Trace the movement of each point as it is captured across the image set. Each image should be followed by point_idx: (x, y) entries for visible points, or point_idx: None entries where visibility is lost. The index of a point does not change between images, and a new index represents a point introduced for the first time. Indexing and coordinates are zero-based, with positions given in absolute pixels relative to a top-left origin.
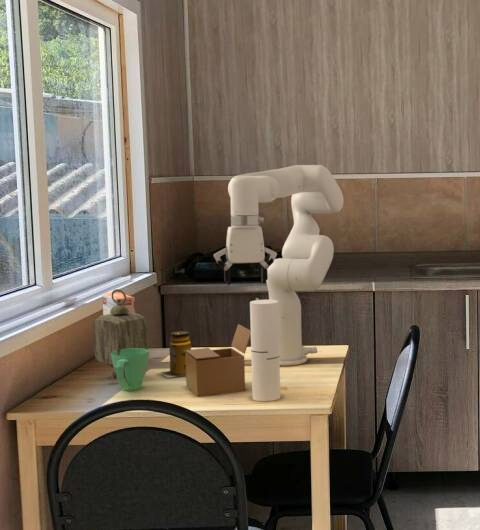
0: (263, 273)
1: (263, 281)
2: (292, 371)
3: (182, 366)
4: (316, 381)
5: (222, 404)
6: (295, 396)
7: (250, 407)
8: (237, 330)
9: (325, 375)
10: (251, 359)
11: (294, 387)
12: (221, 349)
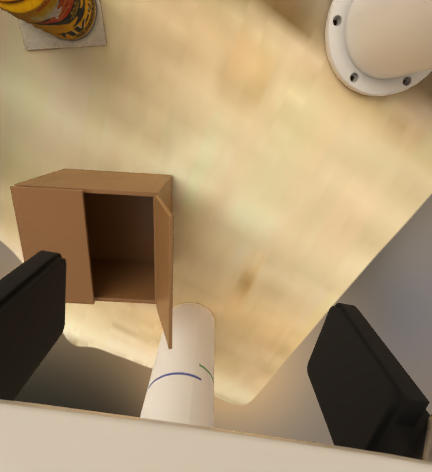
0: (337, 438)
1: (312, 377)
2: (333, 157)
3: (55, 35)
4: (324, 268)
5: (108, 324)
6: (237, 338)
7: (146, 358)
8: (164, 224)
9: (370, 233)
10: (151, 374)
11: (264, 287)
12: (125, 194)
